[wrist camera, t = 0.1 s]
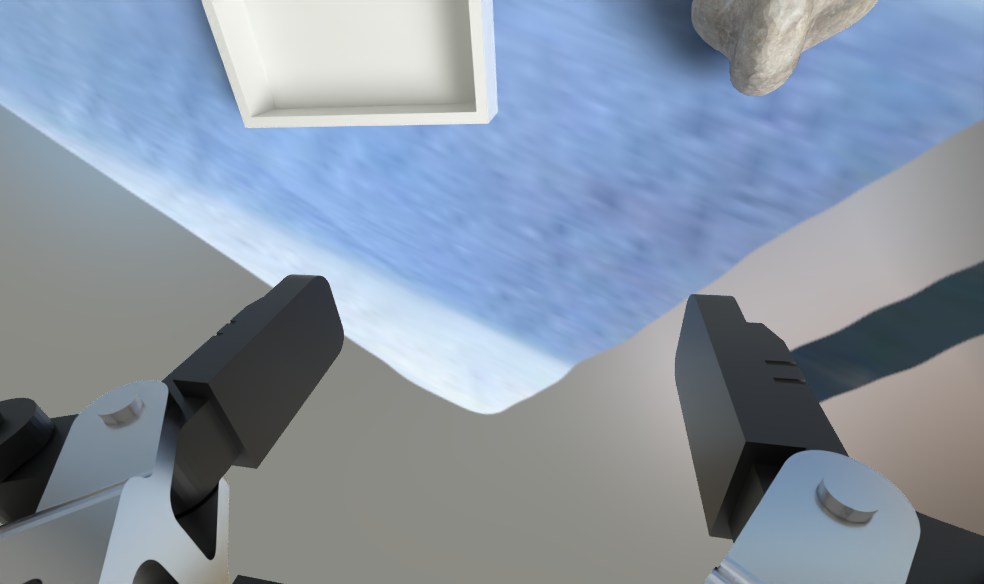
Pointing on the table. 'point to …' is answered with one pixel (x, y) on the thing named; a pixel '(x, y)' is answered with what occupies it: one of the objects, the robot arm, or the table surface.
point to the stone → (770, 34)
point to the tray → (358, 61)
